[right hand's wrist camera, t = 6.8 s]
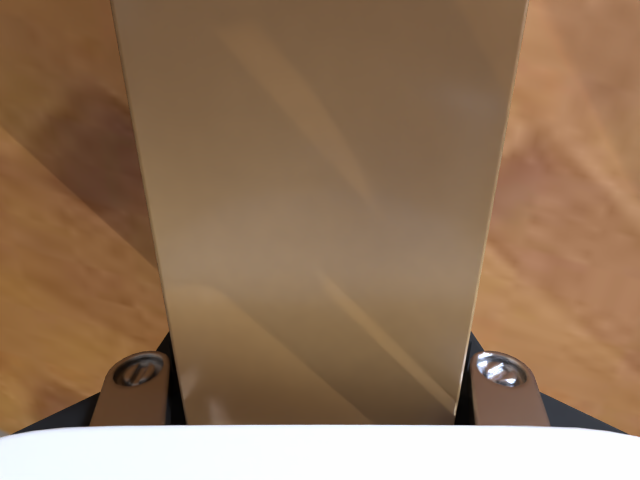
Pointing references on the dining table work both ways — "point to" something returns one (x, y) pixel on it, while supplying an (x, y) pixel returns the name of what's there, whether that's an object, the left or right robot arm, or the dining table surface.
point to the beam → (319, 196)
